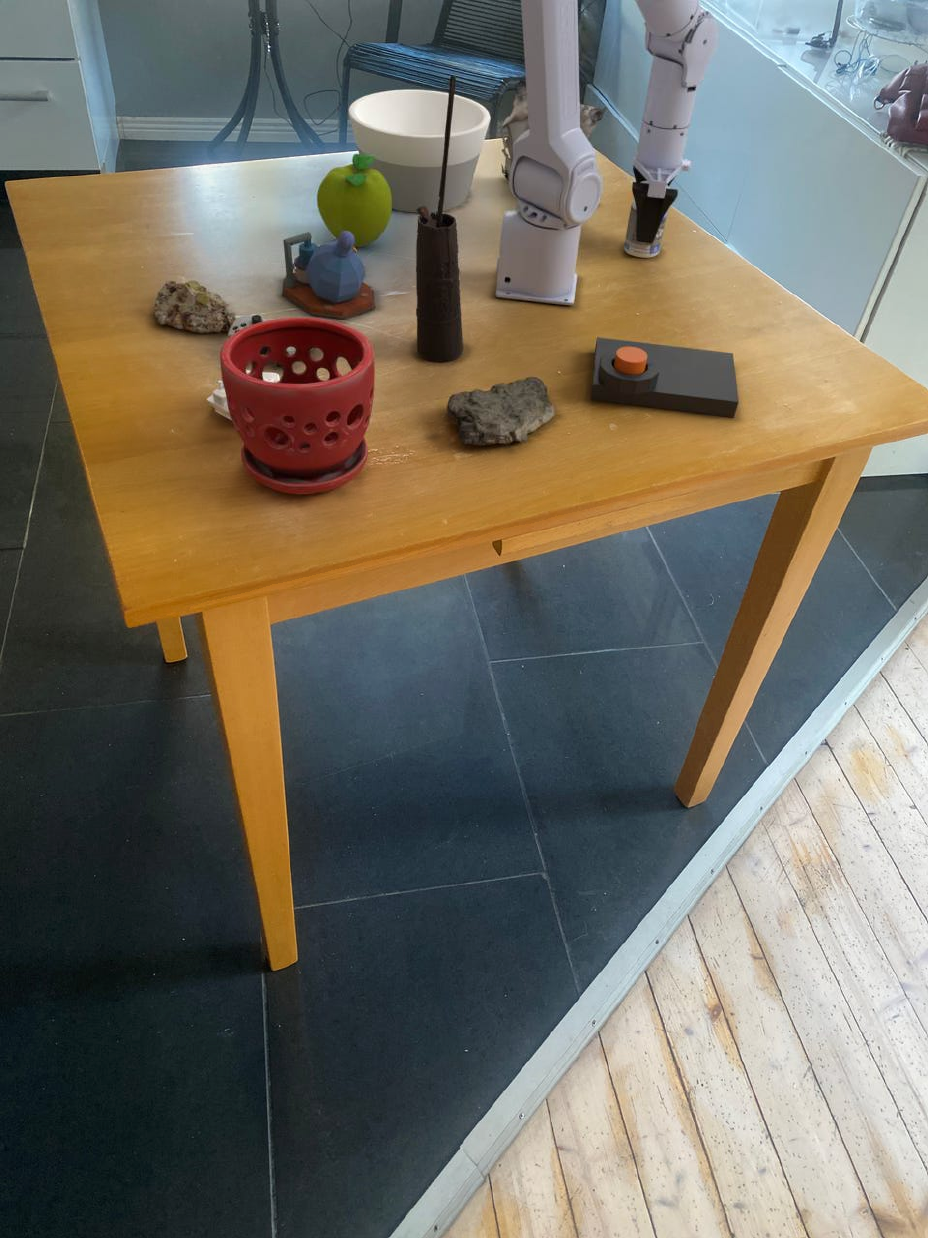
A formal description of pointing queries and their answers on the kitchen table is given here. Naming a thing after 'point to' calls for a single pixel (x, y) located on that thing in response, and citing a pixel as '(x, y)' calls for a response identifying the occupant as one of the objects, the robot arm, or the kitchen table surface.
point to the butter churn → (438, 273)
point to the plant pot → (300, 403)
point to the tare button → (630, 360)
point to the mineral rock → (192, 308)
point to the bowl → (420, 144)
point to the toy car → (219, 395)
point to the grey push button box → (667, 379)
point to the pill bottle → (641, 247)
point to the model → (327, 278)
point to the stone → (500, 412)
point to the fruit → (355, 201)
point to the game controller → (250, 320)
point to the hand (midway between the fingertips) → (644, 232)
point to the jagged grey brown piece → (520, 122)
